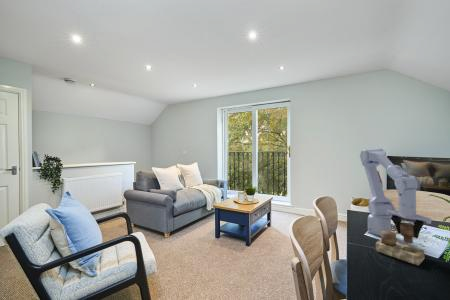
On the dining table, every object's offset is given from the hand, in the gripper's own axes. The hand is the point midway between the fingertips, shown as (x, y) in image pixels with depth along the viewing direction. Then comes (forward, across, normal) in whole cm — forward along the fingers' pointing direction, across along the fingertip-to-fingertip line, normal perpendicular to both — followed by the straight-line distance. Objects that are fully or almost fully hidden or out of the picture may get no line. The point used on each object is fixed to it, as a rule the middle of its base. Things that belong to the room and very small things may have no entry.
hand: (407, 235), depth 90 cm
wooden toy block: (+6, -1, -8) cm, 10 cm away
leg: (+3, 0, 0) cm, 3 cm away
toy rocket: (+7, -21, +28) cm, 36 cm away
